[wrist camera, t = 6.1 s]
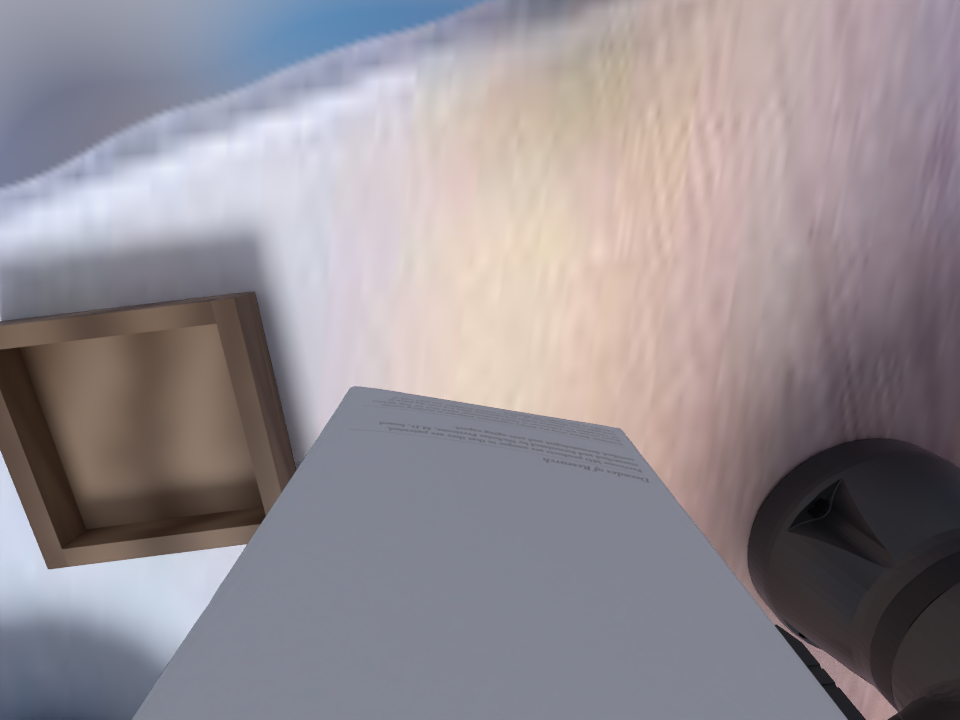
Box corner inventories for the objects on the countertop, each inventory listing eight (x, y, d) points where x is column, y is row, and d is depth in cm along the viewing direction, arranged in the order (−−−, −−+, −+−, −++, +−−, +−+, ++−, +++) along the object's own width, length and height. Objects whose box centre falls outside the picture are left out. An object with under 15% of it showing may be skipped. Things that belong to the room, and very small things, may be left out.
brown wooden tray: (254, 291, 29) (233, 298, 26) (305, 512, 33) (292, 538, 30) (0, 321, 28) (-48, 331, 26) (82, 540, 32) (48, 569, 30)
